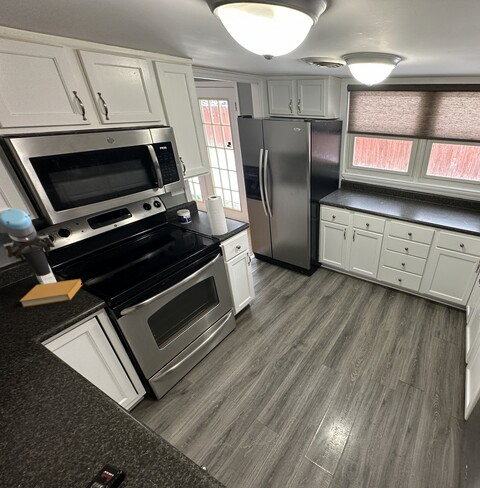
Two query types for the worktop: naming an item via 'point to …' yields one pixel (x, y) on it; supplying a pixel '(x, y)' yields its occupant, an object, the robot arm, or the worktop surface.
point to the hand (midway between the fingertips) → (35, 256)
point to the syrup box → (47, 278)
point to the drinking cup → (36, 259)
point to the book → (51, 292)
